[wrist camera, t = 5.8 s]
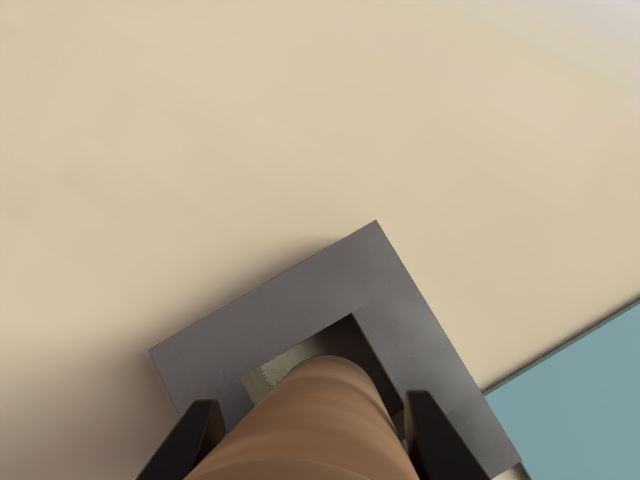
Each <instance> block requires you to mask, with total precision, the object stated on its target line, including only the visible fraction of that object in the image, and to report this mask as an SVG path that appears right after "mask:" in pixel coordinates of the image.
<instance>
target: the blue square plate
mask: <svg viewBox="0 0 640 480" xmlns="http://www.w3.org/2000/svg"><path fill="white" fill-rule="evenodd" d="M482 394H483V396H484V398H485V399H486V401H487V403H488V404H489V406H490V408H491V409H492V411H493V412H494V414H495V416H496V417H497V419H498V421H499V422H500V424H501V426H502V427H503V429H504V431H505V432H506V434H507V435H508V437H509V439H510V440H511V442H512V444H513V445H514V447H515V449H516V450H517V452H518V454H519V455H520V457H521V458H522V461H521V462H519V463H520V465H521V466H522V468H523V470H524V471H525V473H526V475H527V476H528V478H529V479H530V480H640V299H639V300H638V301H636V302H634V303H632V304H631V305H629V306H627V307H626V308H624V309H622V310H621V311H619V312H617V313H616V314H614V315H612V316H611V317H609V318H607V319H606V320H604V321H602V322H601V323H599V324H597V325H596V326H594V327H592V328H591V329H589V330H587V331H586V332H584V333H582V334H581V335H579V336H577V337H575V338H574V339H572V340H570V341H569V342H567V343H565V344H564V345H562V346H560V347H559V348H557V349H555V350H554V351H552V352H550V353H549V354H547V355H545V356H544V357H542V358H540V359H539V360H537V361H535V362H534V363H532V364H530V365H529V366H527V367H525V368H524V369H522V370H520V371H519V372H517V373H515V374H513V375H512V376H510V377H508V378H507V379H505V380H503V381H502V382H500V383H498V384H497V385H495V386H493V387H492V388H490V389H488V390H487V391H485V392H483V393H482Z"/></svg>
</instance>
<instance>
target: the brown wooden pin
mask: <svg viewBox="0 0 640 480" xmlns="http://www.w3.org/2000/svg"><path fill="white" fill-rule="evenodd" d="M183 480H419V478H418V475H417V473H416V471H415V469H414V467H413V465H412V463H411V461H410V459H409V457H408V454H407V452H406V450H405V448H404V446H403V444H402V442H401V440H400V438H399V436H398V433H397V431H396V429H395V427H394V425H393V423H392V421H391V419H390V417H389V415H388V412H387V410H386V408H385V406H384V404H383V402H382V400H381V398H380V396H379V394H378V391H377V389H376V387H375V385H374V383H373V381H372V380H371V378H370V377H369V376H368V374H367V373H366V372H365V371H364V370H363V369H362V368H361V367H360V366H358V365H357V364H355V363H354V362H352V361H350V360H348V359H345V358H343V357H339V356H334V355H320V356H315V357H312V358H309V359H306V360H304V361H302V362H301V363H299V364H298V365H296V366H295V367H294V368H293V369H292V370H291V371H290V372H289V373H288V374H287V375H286V376H285V377H284V378H283V379H282V380H281V381H280V382H279V383H278V384H277V385H276V386H275V387H274V388H273V389H272V390H271V391H270V392H269V393H268V394H267V395H266V396H265V397H264V398H263V399H262V400H261V401H260V402H259V403H258V404H257V405H256V406H255V407H254V408H253V409H252V410H251V411H250V412H249V413H248V414H247V415H246V416H245V417H244V418H243V419H242V420H241V421H240V422H239V423H238V424H237V425H236V426H235V428H234V429H233V430H232V431H231V432H230V433H229V434H228V435H227V436H226V437H225V438H224V439H223V440H222V441H221V442H220V443H219V444H218V445H217V446H216V447H215V448H214V449H213V450H212V451H211V452H210V453H209V454H208V455H207V456H206V457H205V458H204V459H203V460H202V461H201V462H200V463H199V464H198V465H197V466H196V467H195V468H194V469H193V470H192V471H191V472H190V473H189V474H188V475H187V476H186V477H185V478H184V479H183Z"/></svg>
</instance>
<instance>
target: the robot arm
mask: <svg viewBox="0 0 640 480" xmlns="http://www.w3.org/2000/svg"><path fill="white" fill-rule="evenodd" d="M404 425H405V434H406V442H407V450H408V457H409V459H410V461H411V463H412V465H413V467H414V469H415V471H416V473H417V475H418V478H419V480H491V478H490V477H489V475H488V474H487V473H486V471H485V470H484V468H483V467H482V466H481V464H480V463H479V461H478V460H477V458H476V457H475V456H474V454H473V453H472V451H471V450H470V448H469V447H468V446H467V444H466V443H465V441H464V440H463V438H462V437H461V436H460V434H459V433H458V431H457V430H456V428H455V427H454V426H453V424H452V423H451V421H450V420H449V418H448V417H447V416H446V414H445V413H444V411H443V410H442V409H441V407H440V406H439V404H438V403H437V401H436V400H435V399H434V397H433V396H432V394H431V393H430V392H429V391H428V390H427V389H408V390H407V391H406V393H405V408H404ZM224 438H225V421H224V418H223V415H222V412H221V409H220V405H219V402H218V400H217V399H216V398H215V397H207V398H197V399H195V400H194V401H193V402H192V403H191V405H190V406H189V407H188V409H187V410H186V411H185V413H184V414H183V415H182V417H181V418H180V419H179V421H178V422H177V424H176V425H175V426H174V428H173V429H172V430H171V432H170V433H169V434H168V436H167V437H166V439H165V440H164V441H163V443H162V444H161V445H160V447H159V448H158V449H157V451H156V452H155V454H154V455H153V456H152V458H151V459H150V460H149V462H148V463H147V464H146V466H145V467H144V469H143V470H142V471H141V473H140V474H139V475H138V477H137V478H136V479H135V480H183V479H184V478H185V477H186V476H187V475H188V474H189V473H190V472H191V471H192V470H193V469H194V468H195V467H196V466H197V465H198V464H199V463H200V462H201V461H202V460H203V459H204V458H205V457H206V456H207V455H208V454H209V453H210V452H211V451H212V450H213V449H214V448H215V447H216V446H217V445H218V444H219V443H220V442H221V441H222V440H223V439H224Z"/></svg>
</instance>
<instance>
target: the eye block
mask: <svg viewBox="0 0 640 480" xmlns="http://www.w3.org/2000/svg"><path fill="white" fill-rule="evenodd" d="M348 314H351V316H352V317H353V319H354V321H355V322H356V324H357V326H358V328H359V329H360V331H361V333H362V335H363V336H364V338H365V340H366V342H367V343H368V345H369V347H370V349H371V350H372V352H373V354H374V355H375V357H376V359H377V361H378V362H379V364H380V366H381V368H382V369H383V371H384V373H385V375H386V376H387V378H388V380H389V382H390V383H391V385H392V387H393V388H394V390H395V392H396V394H397V395H398V397H399V399H400V401H401V402H402V404H403V406H404V408H405V393H406V391H407V390H408V389H427V390H428V391H429V392H430V393H431V394H432V396H433V397H434V399H435V400H436V401H437V403H438V404H439V406H440V407H441V409H442V410H443V411H444V413H445V414H446V416H447V417H448V418H449V420H450V421H451V423H452V424H453V426H454V427H455V428H456V430H457V431H458V433H459V434H460V436H461V437H462V438H463V440H464V441H465V443H466V444H467V446H468V447H469V448H470V450H471V451H472V453H473V454H474V456H475V457H476V458H477V460H478V461H479V463H480V464H481V466H482V467H483V468H484V470H485V471H486V473H487V474H488V475H489V477H490V478H491V479H493V478H494V477H496V476H498V475H499V474H501V473H503V472H504V471H506V470H508V469H509V468H511V467H513V466H514V465H516V464H517V463H519V462H521V461H522V458H521V457H520V455H519V454H518V452H517V450H516V449H515V447H514V445H513V444H512V442H511V440H510V439H509V437H508V435H507V434H506V432H505V431H504V429H503V427H502V426H501V424H500V422H499V421H498V419H497V417H496V416H495V414H494V412H493V411H492V409H491V408H490V406H489V404H488V403H487V401H486V399H485V398H484V396H483V394H482V393H481V391H480V389H479V388H478V386H477V385H476V383H475V381H474V380H473V378H472V376H471V375H470V373H469V371H468V370H467V368H466V366H465V365H464V363H463V362H462V360H461V358H460V357H459V355H458V353H457V352H456V350H455V348H454V347H453V345H452V343H451V342H450V340H449V339H448V337H447V335H446V334H445V332H444V330H443V329H442V327H441V325H440V324H439V322H438V321H437V319H436V317H435V316H434V314H433V312H432V311H431V309H430V307H429V306H428V304H427V302H426V301H425V299H424V298H423V296H422V294H421V293H420V291H419V289H418V288H417V286H416V284H415V283H414V281H413V279H412V278H411V276H410V275H409V273H408V271H407V270H406V268H405V266H404V265H403V263H402V261H401V260H400V258H399V256H398V255H397V253H396V252H395V250H394V248H393V247H392V245H391V243H390V242H389V240H388V238H387V237H386V235H385V233H384V232H383V230H382V229H381V227H380V225H379V224H378V222H377V220H375V221H373V222H371V223H369V224H368V225H366V226H364V227H362V228H361V229H359V230H357V231H355V232H354V233H352V234H350V235H348V236H347V237H345V238H343V239H341V240H340V241H338V242H336V243H334V244H333V245H331V246H329V247H327V248H326V249H324V250H322V251H320V252H319V253H317V254H315V255H313V256H312V257H310V258H308V259H306V260H305V261H303V262H301V263H299V264H298V265H296V266H294V267H292V268H291V269H289V270H287V271H285V272H284V273H282V274H280V275H278V276H277V277H275V278H273V279H272V280H270V281H268V282H266V283H265V284H263V285H261V286H259V287H258V288H256V289H254V290H252V291H251V292H249V293H247V294H245V295H244V296H242V297H240V298H238V299H237V300H235V301H233V302H231V303H230V304H228V305H226V306H224V307H223V308H221V309H219V310H217V311H216V312H214V313H212V314H210V315H209V316H207V317H205V318H203V319H202V320H200V321H198V322H196V323H195V324H193V325H191V326H189V327H188V328H186V329H184V330H182V331H181V332H179V333H177V334H175V335H174V336H172V337H170V338H168V339H167V340H165V341H163V342H162V343H160V344H158V345H156V346H155V347H153V348H151V349H149V350H148V352H149V354H150V356H151V358H152V360H153V362H154V364H155V366H156V368H157V370H158V372H159V374H160V376H161V378H162V380H163V382H164V384H165V386H166V388H167V391H168V393H169V395H170V397H171V399H172V401H173V403H174V405H175V407H176V409H177V411H178V413H179V415H180V417H182V415H183V414H184V413H185V411H186V410H187V409H188V407H189V406H190V405H191V403H192V402H193V401H194V400H195V399H197V398H207V397H215V398H216V399H217V400H218V402H219V405H220V409H221V412H222V415H223V418H224V421H225V437H226V436H227V435H228V434H229V433H230V432H231V431H232V430H233V429H234V428H235V426H236V425H237V424H238V423H239V422H240V421H241V420H242V419H243V418H244V417H245V416H246V415H247V414H248V413H249V412H250V411H251V410H252V409H253V408H254V407H255V406H256V405H257V404H258V403H259V402H260V401H261V400H262V399H263V398H264V397H265V396H266V395H267V394H268V393H269V392H270V391H271V388H270V386H269V384H268V382H267V380H266V378H265V376H264V374H263V372H262V371H261V369H260V367H259V366H261V365H262V364H264V363H266V362H267V361H269V360H271V359H273V358H274V357H276V356H278V355H280V354H281V353H283V352H285V351H286V350H288V349H290V348H292V347H293V346H295V345H297V344H298V343H300V342H302V341H304V340H305V339H307V338H309V337H311V336H312V335H314V334H316V333H317V332H319V331H321V330H323V329H324V328H326V327H328V326H329V325H331V324H333V323H335V322H336V321H338V320H340V319H342V318H343V317H345V316H347V315H348ZM390 419H391V421H392V423H393V425H394V427H395V429H396V431H397V433H398V436H399V438H400V440H401V442H402V444H403V446H404V448H405V450H406V452H407V454H408V450H407V442H406V434H405V425H404V409H403V410H402V411H400V412H398V413H397V414H395V415H393V416H392V417H390Z"/></svg>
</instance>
